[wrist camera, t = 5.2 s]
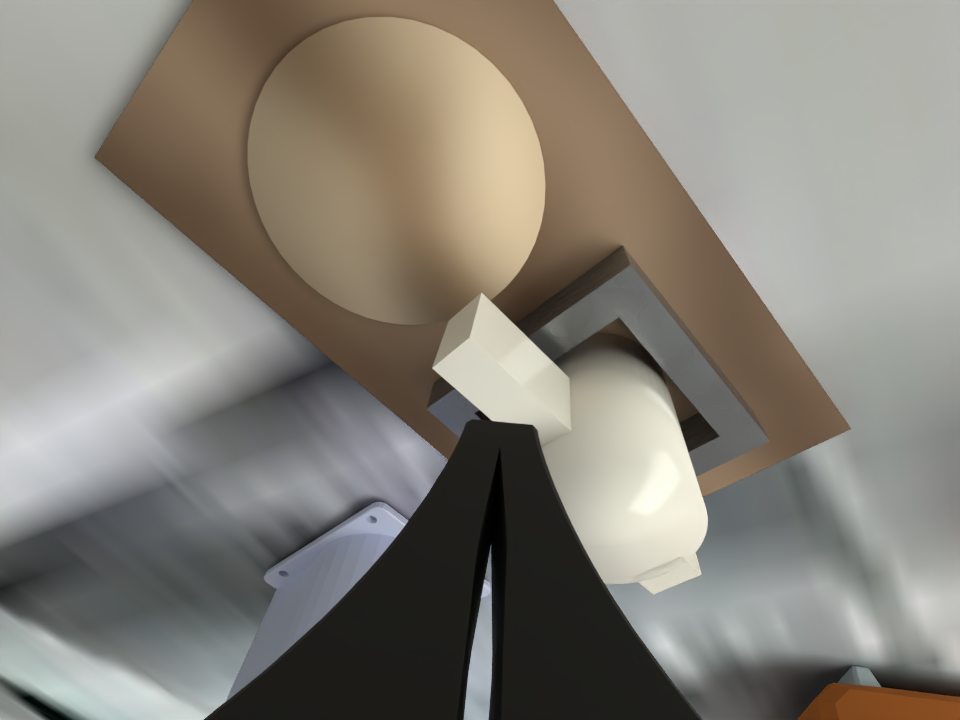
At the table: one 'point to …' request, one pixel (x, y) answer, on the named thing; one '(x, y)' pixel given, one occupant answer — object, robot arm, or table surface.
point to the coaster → (396, 170)
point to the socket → (648, 315)
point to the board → (561, 238)
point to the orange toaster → (877, 701)
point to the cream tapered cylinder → (591, 439)
